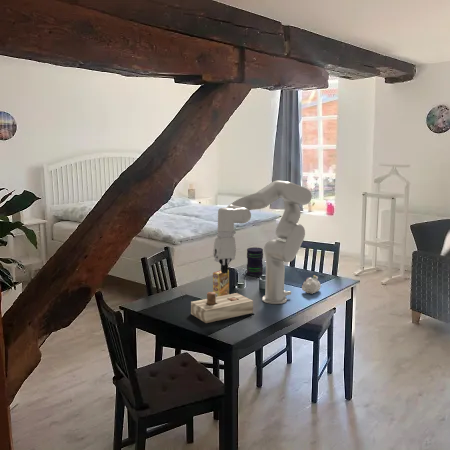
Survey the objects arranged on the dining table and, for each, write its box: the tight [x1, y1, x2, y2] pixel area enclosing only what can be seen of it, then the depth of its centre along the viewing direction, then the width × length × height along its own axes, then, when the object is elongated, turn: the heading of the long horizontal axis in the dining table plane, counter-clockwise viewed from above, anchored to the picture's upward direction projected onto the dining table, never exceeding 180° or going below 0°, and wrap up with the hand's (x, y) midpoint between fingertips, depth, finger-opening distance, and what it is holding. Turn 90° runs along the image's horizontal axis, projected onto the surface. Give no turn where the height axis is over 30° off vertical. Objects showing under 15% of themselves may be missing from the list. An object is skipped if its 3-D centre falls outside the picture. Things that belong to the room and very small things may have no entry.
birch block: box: [190, 292, 254, 324], centre depth 245 cm, size 14×26×6 cm, turn 122°
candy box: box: [212, 269, 230, 297], centre depth 264 cm, size 9×4×15 cm, turn 144°
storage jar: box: [246, 246, 264, 276], centre depth 315 cm, size 10×10×15 cm
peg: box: [206, 291, 216, 306], centre depth 241 cm, size 4×4×6 cm
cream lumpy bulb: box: [301, 274, 322, 295], centre depth 277 cm, size 10×8×15 cm
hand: (224, 272), depth 243 cm, fingers closed
